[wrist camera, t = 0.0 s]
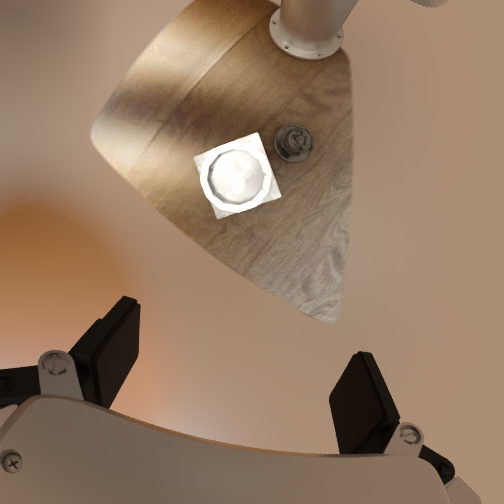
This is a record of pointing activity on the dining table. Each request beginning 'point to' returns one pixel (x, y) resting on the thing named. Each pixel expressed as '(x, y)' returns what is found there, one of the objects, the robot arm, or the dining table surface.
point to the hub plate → (237, 176)
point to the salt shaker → (293, 142)
